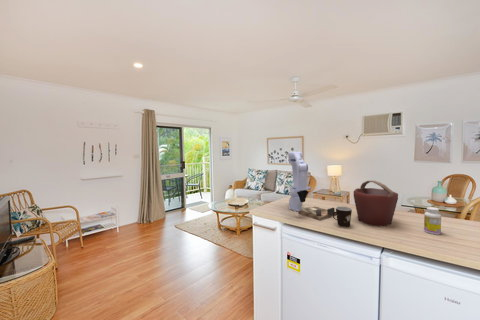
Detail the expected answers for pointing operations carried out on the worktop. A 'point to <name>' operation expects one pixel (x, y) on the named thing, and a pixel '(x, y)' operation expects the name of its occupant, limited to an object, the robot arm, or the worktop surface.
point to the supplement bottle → (432, 221)
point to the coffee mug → (343, 216)
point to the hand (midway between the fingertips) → (302, 201)
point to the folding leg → (309, 209)
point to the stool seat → (319, 213)
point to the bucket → (375, 204)
